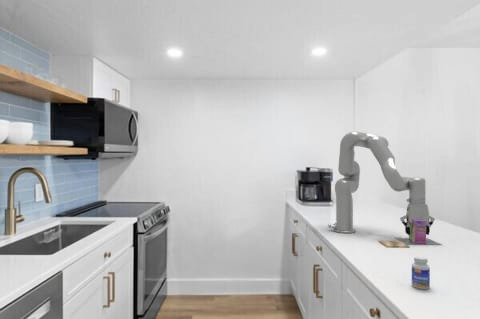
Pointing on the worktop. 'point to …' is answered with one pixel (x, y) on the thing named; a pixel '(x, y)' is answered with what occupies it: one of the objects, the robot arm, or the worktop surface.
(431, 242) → the tile
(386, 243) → the wooden pad
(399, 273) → the worktop surface
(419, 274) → the pill bottle
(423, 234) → the box
